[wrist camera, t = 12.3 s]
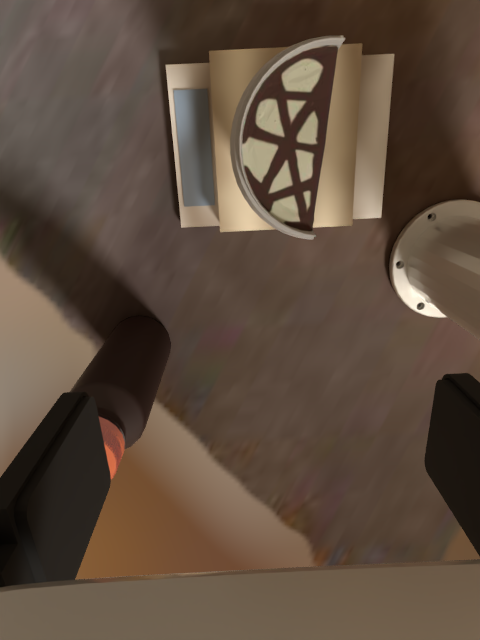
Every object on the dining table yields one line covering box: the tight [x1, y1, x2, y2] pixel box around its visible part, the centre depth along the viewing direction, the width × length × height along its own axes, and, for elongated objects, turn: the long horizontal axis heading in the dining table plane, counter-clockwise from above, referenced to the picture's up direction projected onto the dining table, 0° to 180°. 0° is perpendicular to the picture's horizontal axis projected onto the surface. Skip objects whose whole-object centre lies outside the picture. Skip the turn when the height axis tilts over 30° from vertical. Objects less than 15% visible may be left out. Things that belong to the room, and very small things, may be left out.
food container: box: [230, 36, 345, 239], centre depth 29 cm, size 12×6×10 cm, turn 175°
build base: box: [166, 43, 394, 232], centre depth 37 cm, size 20×14×6 cm
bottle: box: [70, 316, 171, 479], centre depth 37 cm, size 7×7×20 cm
